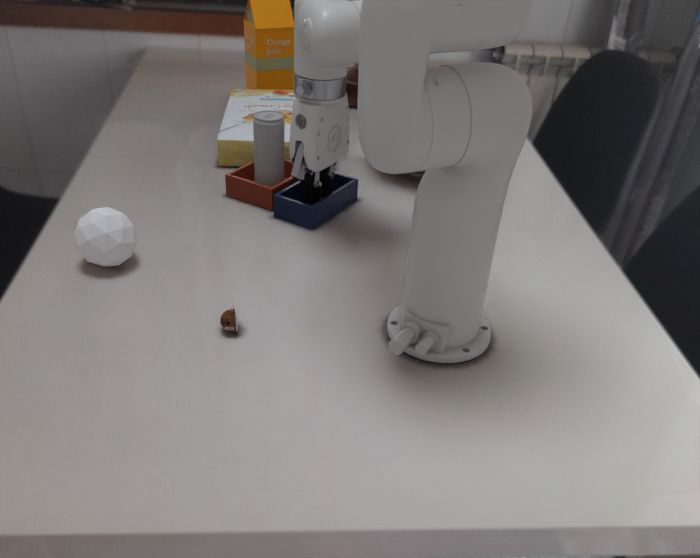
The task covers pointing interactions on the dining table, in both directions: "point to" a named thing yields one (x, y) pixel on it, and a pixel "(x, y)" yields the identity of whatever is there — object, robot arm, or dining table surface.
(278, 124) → the beverage can
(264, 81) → the orange juice
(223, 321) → the chocolate
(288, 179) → the terracotta bin
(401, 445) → the dining table surface
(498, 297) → the dining table surface
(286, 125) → the cereal box
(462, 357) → the robot arm
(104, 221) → the geometric ball
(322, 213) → the navy bin
